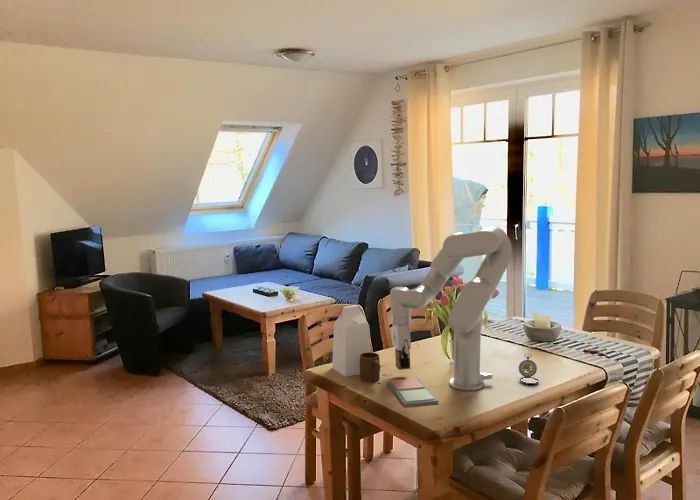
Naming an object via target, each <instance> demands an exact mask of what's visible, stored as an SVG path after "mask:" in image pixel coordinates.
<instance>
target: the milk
mask: <svg viewBox="0 0 700 500" xmlns="http://www.w3.org/2000/svg"><path fill="white" fill-rule="evenodd" d="M370 331H371V330H370V324H369V323H368V321H367V319H366V317H365V316H364V314H363V312H362V310H361V308H360V306H359V304H358V305H349V306H343V308H342V311H341V314H340V315H339V316H338V317H337V319H336V320H335V322H334V324H333V340H332V341H333V343H332V344H333V345H332V362H331V363H332V369H333V370H334V371H336V372H338V373H339V374H341V375H342V376H343V377H350V376H351V377H352V376H355V375H360V355H361V354H362V353H368V352H371V353H372V347H371V332H370Z"/></svg>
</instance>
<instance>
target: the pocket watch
mask: <svg viewBox="0 0 700 500" xmlns="http://www.w3.org/2000/svg"><path fill="white" fill-rule="evenodd" d="M526 355H527V356H526ZM529 355H530V356H529ZM524 357H525V358H526V359H523V360H522V361H521V362H520V363H519V366H518V373H519V374H521V376H523V377H520V378H519V382H520V381H521V379H523V378H533V379H535V380H537V381H538V382H536V383H526V382H523V381H521V382H520V383H522V384H524V383H525V384H524V385H528V384H535V385H537V383H539V379H538V378H536V377H534V376H535V375H536V373H537V371H538V368H537V364H536V362H534V361H533V360H531V359H530V358H532V354H531V353H527V352H526V353H525V354H524Z"/></svg>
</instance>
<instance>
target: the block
mask: <svg viewBox="0 0 700 500" xmlns="http://www.w3.org/2000/svg"><path fill="white" fill-rule="evenodd" d="M402 350H404V348H403V349H402ZM394 351H395V352H394V357H395V367H396V368H397V369H398V370H399V371H400V370H401V371H402V370H409V369H411V355H410V354H411V352H410V350H409V367H408V368H401V362H400V358H401V350H400V351H398V350H397V349H396V348H395V349H394ZM404 352H405V351H403V353H404Z"/></svg>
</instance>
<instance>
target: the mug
mask: <svg viewBox="0 0 700 500" xmlns="http://www.w3.org/2000/svg"><path fill="white" fill-rule="evenodd" d="M380 371H381V361H380V355H379V353H376V352H372V351H371V352H368V353H362V354H361V355H360V374H359V379H360V380H361V381H362V382H366V383H374V382H377V381H379V380H380V376H381V375H380V373H381V372H380Z"/></svg>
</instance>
